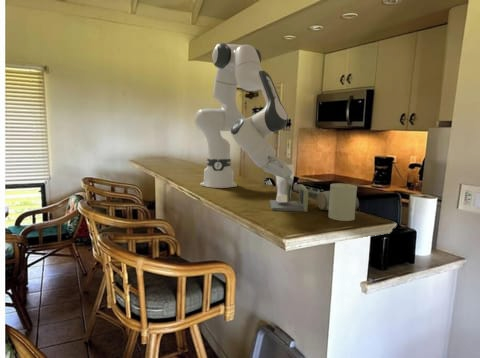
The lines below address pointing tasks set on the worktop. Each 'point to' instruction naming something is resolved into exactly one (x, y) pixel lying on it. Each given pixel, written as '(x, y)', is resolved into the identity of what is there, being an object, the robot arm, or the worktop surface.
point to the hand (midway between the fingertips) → (285, 180)
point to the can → (342, 202)
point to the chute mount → (293, 202)
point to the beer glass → (284, 187)
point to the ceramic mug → (323, 200)
